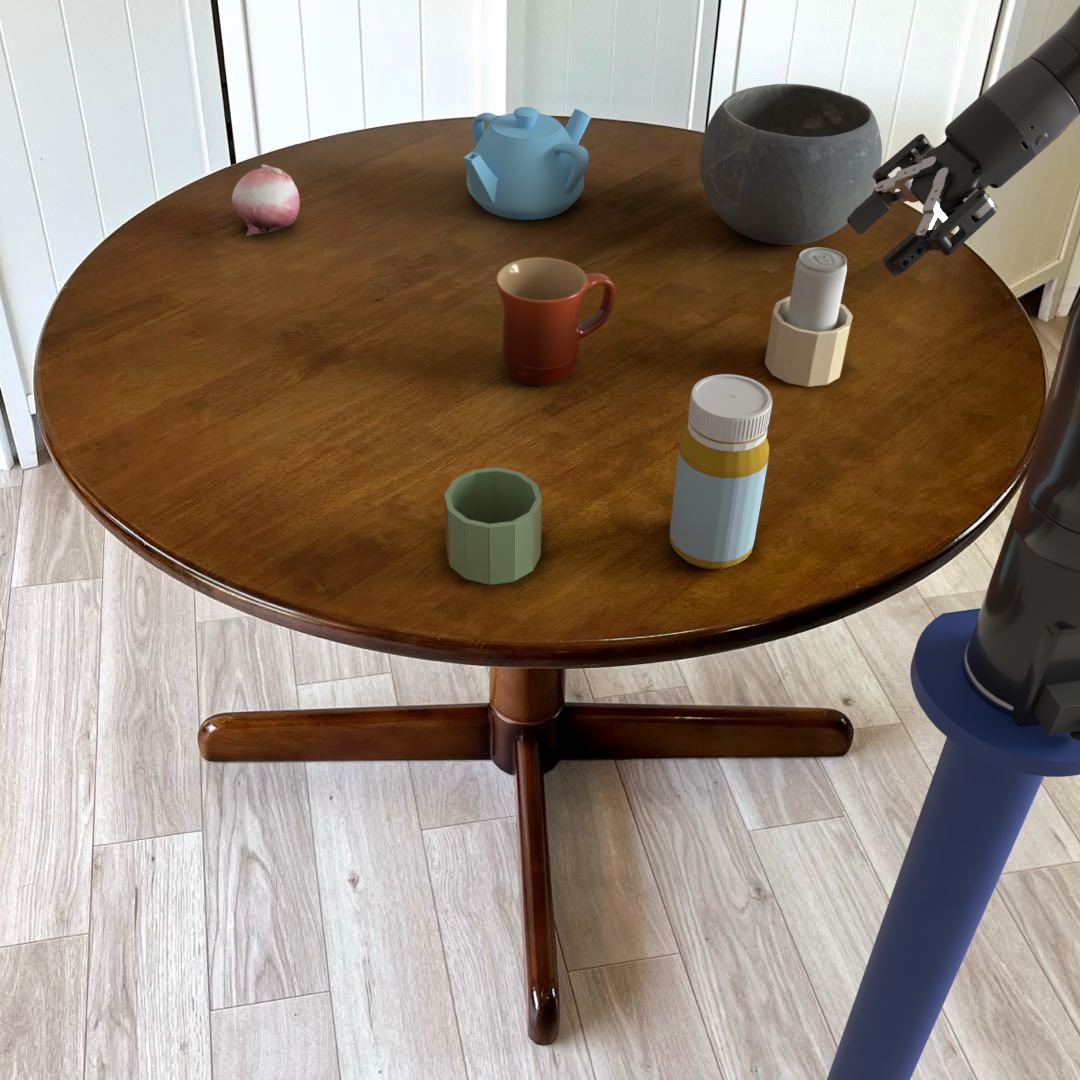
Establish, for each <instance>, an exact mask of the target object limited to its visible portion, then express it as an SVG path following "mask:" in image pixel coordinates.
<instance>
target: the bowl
mask: <svg viewBox="0 0 1080 1080" xmlns="http://www.w3.org/2000/svg"><path fill="white" fill-rule="evenodd" d="M876 118H877V117H876V116H875V114H874V113H873V111H872V108H871V107H870V106H869V105H868V104H866V103H865V102H864V101H862V100H860V99H859V98H857V97H855V96H852V95H849V94H845V93H842V92H839V91H836V90H833V89H830V88H829V89H828V88H825V87H820V86H816V85H809V84H800V83H774V84H773V83H772V84H766V85H758V86H753V87H748V88H745V89H742V90H739V91H736V92H733V93H732V94H731V95H729V96H728V97H727V98H726V99H724V100H723V101H722V103H721V104H720V105H719V106H718V107H717V108H716V110H715V112H714V113H713V115H712V117H711V119H710V121H709V123H708V124H707V127H706V129H705V132H704V135H703V138H702V141H701V145H700V150H699V174H700V180H701V183H702V187H703V190H704V192H705V194H706V197H707V199H708V201H709V203H710V205H711V207H712V208H713V210H714V212H715V213H716V215H718V217H719V218H720V219H721V220H722V221H723V222H724V223H726V225H728V226H729V227H730V229H733V230H734V231H736V232H737V233H739V234H741V235H743V236H744V237H747V238H749V239H752V240H755V241H759V242H761V243H766V244H771V245H780V246H798V245H805V244H809V243H814V242H817V241H819V240H822V239H824V238H827V237H828V236H829V237H830V236H831V235H832V234H834V233H836V232H838V231H839V230H841V229H842V228H843V227H845V226H846V225H847V224H849V223H848V222H847V218H848V217H849V216H850V215H851V214H852V212H853V211H854V210H855V209H856V208H857V207H859V205H861V204H862V203H863V202H864V201H865V200H866V199H867V198H868V197H869V196H871V195H872V194H873V193H874V191H875V186H876V181H875V179H874V178H873V174H874V172H875V171H876V170H877V169H879V168H880V167H881V166H882V161H883V143H882V137H881V131H880V128H879V125H878V122H877V119H876Z"/></svg>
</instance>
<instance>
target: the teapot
mask: <svg viewBox="0 0 1080 1080" xmlns="http://www.w3.org/2000/svg"><path fill="white" fill-rule="evenodd" d="M591 119H592V116H590V115H588V114H587V113H586V112H584V111H582V110H580V109H578V108H574V110H573V111H572V114H571V115H570V117H569V119H568V120H567V123H566V125H565V127H564V126H563V124H562V123H561V122H560V121H559V120H558V119H557V118H555V117H553V116H551V115H547V114H544V113H540V112H539V110H538V109H537V108H535V107H531V106H521V107H517V108H515V109H514V110H513V112H510V113H506V114H503V115H500V116H497V115H496V114H495V113H493V112H483V113H480V114H478V115H476V116H475V117H474V119H473V120H472V124H471V129H472V130H471V132H472V139H473V145H474V149H473V150H472V151H471V152H470V153H468V154H466V155H465V156H464V157H462V158H463V163H464V166H465V169H466V187H467V190H468V192H469V194H470V196H471V197H472V198H473V199H474V200H475V202H476V203H477V204H478V205H480V207H482V209H484V210H485V211H487V212H489V213H491V214H492V215H496V216H498V217H501V218H506V219H511V220H512V219H513V220H523V221H529V220H531V221H533V220H534V221H535V220H541V219H548V218H551V217H554V216H557V215H560V214H562V213H564V212H566V211H567V210H568V209H569V208H570V207H571V206H573V204H575V202H576V201H577V200H578V199H579V198H580V197H581V195H582V193H583V191H584V188H585V172H586V170H587V168H588V164H589V151H588V150H587V149H586V148H585V147H584V146H583V145H581V144H579V143H580V141H581V139H582V138H583V135H584V134H585V131H586V129H587V127H588V125H589V123H590V121H591ZM485 122H486V123H487V124H488V126H487V128H486V129H485Z"/></svg>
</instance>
